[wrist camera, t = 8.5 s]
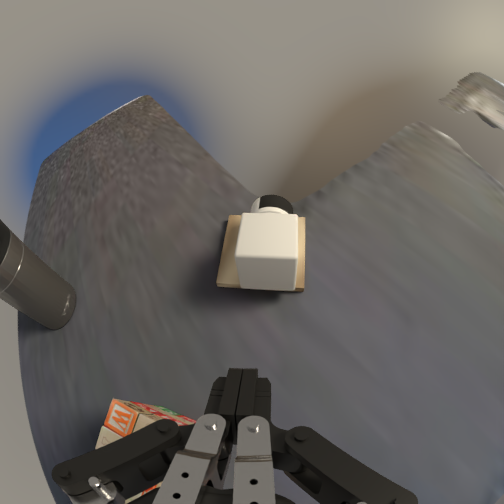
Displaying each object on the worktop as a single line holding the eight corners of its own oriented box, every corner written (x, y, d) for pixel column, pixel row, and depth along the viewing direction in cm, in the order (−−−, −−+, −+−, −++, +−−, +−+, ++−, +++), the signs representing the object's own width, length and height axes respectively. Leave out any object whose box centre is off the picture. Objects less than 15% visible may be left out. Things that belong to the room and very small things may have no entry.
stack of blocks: (160, 539, 19) (118, 571, 9) (121, 519, 21) (70, 540, 10) (205, 422, 30) (168, 427, 19) (161, 404, 31) (111, 396, 21)
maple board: (217, 286, 39) (216, 282, 38) (230, 219, 46) (229, 215, 45) (303, 291, 38) (304, 288, 37) (304, 222, 44) (305, 217, 43)
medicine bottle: (295, 291, 36) (295, 225, 43) (298, 258, 30) (297, 189, 38) (240, 289, 37) (250, 223, 44) (233, 255, 31) (246, 188, 39)
